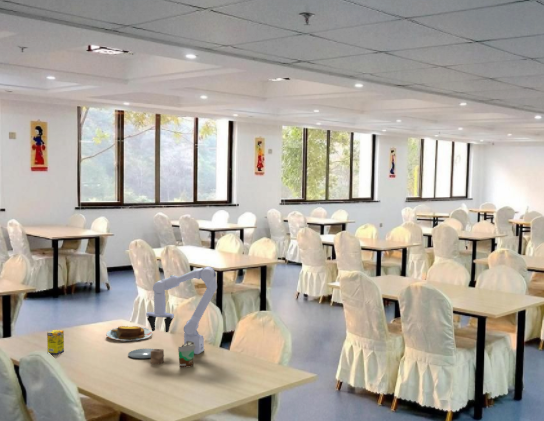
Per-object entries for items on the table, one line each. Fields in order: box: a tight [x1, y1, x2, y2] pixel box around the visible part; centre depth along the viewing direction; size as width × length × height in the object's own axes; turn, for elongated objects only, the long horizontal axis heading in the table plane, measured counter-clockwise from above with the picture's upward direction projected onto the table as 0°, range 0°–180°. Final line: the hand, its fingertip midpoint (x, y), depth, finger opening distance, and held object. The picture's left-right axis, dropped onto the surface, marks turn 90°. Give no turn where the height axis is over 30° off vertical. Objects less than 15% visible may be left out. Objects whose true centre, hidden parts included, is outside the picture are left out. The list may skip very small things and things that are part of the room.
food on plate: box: [105, 325, 154, 342], centre depth 370 cm, size 25×25×7 cm
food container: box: [177, 341, 196, 368], centre depth 317 cm, size 12×6×10 cm, turn 168°
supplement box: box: [46, 329, 65, 356], centre depth 338 cm, size 6×6×11 cm
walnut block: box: [150, 348, 165, 365], centre depth 321 cm, size 4×4×6 cm
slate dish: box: [127, 348, 155, 359], centre depth 334 cm, size 16×16×1 cm
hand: (160, 331), depth 339 cm, fingers open, 7 cm apart
